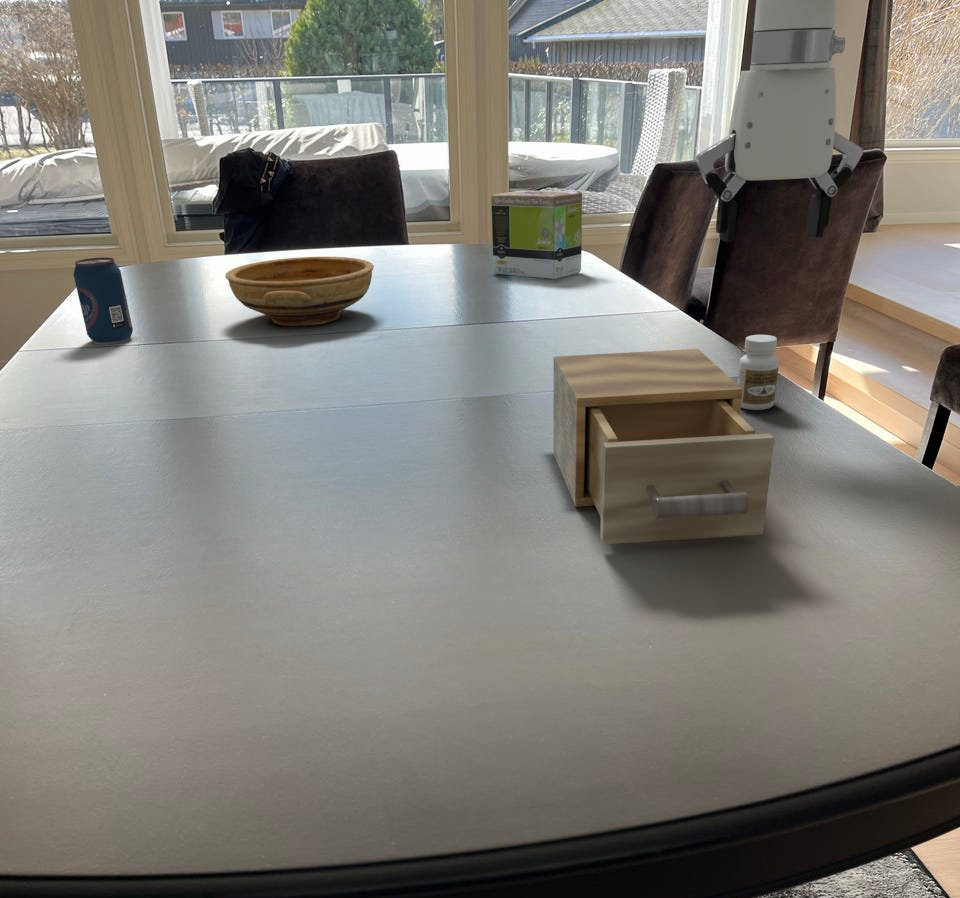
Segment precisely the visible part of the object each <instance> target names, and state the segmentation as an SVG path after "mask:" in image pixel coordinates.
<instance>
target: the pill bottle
mask: <svg viewBox="0 0 960 898" xmlns="http://www.w3.org/2000/svg"><path fill="white" fill-rule="evenodd" d="M777 345H778V338H777V337H776V336H774V335H770V334H753V335H752V334H751V335H748V336H746V337H745V342H744V352H746V353H745V354H744V355H743V356H742V357H740V359H739V361H738V369H737V371H738V372H737V381H736V384H737V385H739V386H740V387H741V388H742V389H743V390H742V399H741V408H742V409H745V410H750V411H763V410H767V409H770V408H773V406H774V405H775V400H776V399H775V398H776V390H777V384H778V375H779V366H780V365H779V364H780V361H779V360H780V359H778V357H777V356H775V355H774V354H775V353H776V352H777Z"/></svg>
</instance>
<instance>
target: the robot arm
mask: <svg viewBox="0 0 960 898" xmlns="http://www.w3.org/2000/svg"><path fill="white" fill-rule="evenodd" d="M837 2H838V0H756V1H755V10H754V21H753V22H754V23H753V33H752V43H751V44H752V45H751V55H750V66H749V70H741V71H740V75H739V79H738V82H737V86H736V91H735V95H734V101H733V105H732V109H731V115H730V122H729V128H728V134H727V136H726V137H723V138H722V139H721V140H719V141H717V142H716V143H714V144H712V145H710V146H709V147H707V148H706V149H704V150H702V151H701V152H699V153H697V155H696V156H695V162H696V165H697V168H698V170H699V173H700V175H701V177H702V181H703V183H704V184H705V185H706V186H707V188H708V189H709V190H710V191H711V192H712V194H713V195H714V197H715V198H716V199H717V208H716V209H717V210H716V223H715V232H716V233H717V234H718V235H719V240H722V242H725V243H733V242H734V240H735V235H736V226H737V225H736V222H737V213H738V212H737V211H738V202H737V201H736V200H735V196H736V194H737V193H738V192H739V191H740V189H741V188H742V187H743V186H744V184H745V183H746V182H747V181H772V180H773V181H777V180H795V179H796V180H797V179H798V180H799V179H808V180H809V181H810V183H811V185H812V186H813V187H814V189H815V192H814V193H813V194H811V195H810V198H809V206H808V214H807V223H806V230H805V232H806V234H807V235H809V236H811V237H813V238H815V239H822V238H823V236H824V232H825V229H827V228H828V226H829V219H830V213H831V205H832V198H833V197H834V196H836V195H837V193H838V190H839V189H840V188H841V187H842V186H844V184H845V183H846V182H847V181H848V180H849V179H850V178H851V177H852V174H853V171H854V170H855V169H856V166H857V165H858V164H859V162H860V160H861V158H862V156H863V154H864V149H863V147H861V146H859V145H858V144H856V143H855V142H853V141H852V140H850V139H848V138H847V137H844V136H843V135H841V134H839V133H838V132H837V131H836V118H837V117H836V116H837V89H836V87H837V85H836V84H837V83H836V72H835V70H836V69H835V67H829V65H830V62H831V61H832V59H833V55H836V54H842V53H843V52H844V51H845V47H846V38H845V36H843V37H840V36H837V35H836V29H834V27H835V18H836V11H837ZM834 150H835V151H836V152H838V153H839V154H841V155H842V158H841V161H840V163H839V165H838V166H837V167H836V168H835V169H834V170H833V171H832V172H831V173H829V169H830V167H831V164H832V160H833V154H834V153H833V152H834ZM723 156H725V157H724V158H725V159H724V168H725V172H726V173H727V174H726V176H725V177H724V178H723V179H722V178H721V177H720V176H719V175H718V173H717V172H716V168H715V163H716V161H717V160H718V159H720V158H722V157H723Z"/></svg>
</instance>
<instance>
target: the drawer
mask: <svg viewBox="0 0 960 898" xmlns="http://www.w3.org/2000/svg"><path fill="white" fill-rule="evenodd" d="M774 444H775V436H773V435H772V434H771V433H770V432H767V433H766V432H765V433H756V430H755V428H753V427H752V425H750V424H749V423H748V422H747V421H746V420H745V419H744V418H743V417H742V416H741V414H740V415H739V414H738V413H737V412H736V411H735V410H734V409H733V408H732V407H731V406H730V405H729V404H728V403H727V402H726V401H725V400H724V399H713V400H695V401H677V402H660V403H642V404H624V405H606V406H589V407H586V414H585V464H584V482H585V484H586V487H587V489H588V491H589V493H590V495H591V497H592V500H593V502H594V504H595V508H596V510H597V513H598V515H599V517H600V527H599V529H600V531H599V539H600V541H601V544H602V545H615V544H618V545H619V544H631V543H633V544H634V543H647V542H648V543H649V542H662V541H663V542H664V541H665V542H666V541H680V540H694V539H695V540H696V539H698V540H699V539H711V538H713V539H714V538H726V537H743V536H761V535H763V534H764V527H765V520H766V517H765V516H766V510H767V503H768V495H769V486H770V477H771V470H772V461H773V452H774V446H775V445H774Z"/></svg>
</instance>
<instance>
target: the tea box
mask: <svg viewBox="0 0 960 898" xmlns="http://www.w3.org/2000/svg"><path fill="white" fill-rule="evenodd" d="M490 198H491V199H490V201H491V204H490V205H491V236H492V237H491V239H492V240H491V241H492V265H493V266H492V267H493V270H494V271H493V270H492V271H493V274H495V275H504V276H505V275H506V276H516V277H517V276H518V277H530V278H541V279H550V280H551V279H552V280H556V279H560V278H561V279H562V278H564V277H565V278H566V277H569V276H572V275H576V274H578V273H581V271H582V250H583V249H582V247H583V246H582V245H583V244H582V243H583V242H582V241H583V236H582V235H583V192H582V191H578V190H577V191H576V190H575V191H574V190H570V191H565V190H529V189H528V190H526V189H525V190H521V189H520V190H513V191H506V192H501V193H494V194H492V195H490Z"/></svg>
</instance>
